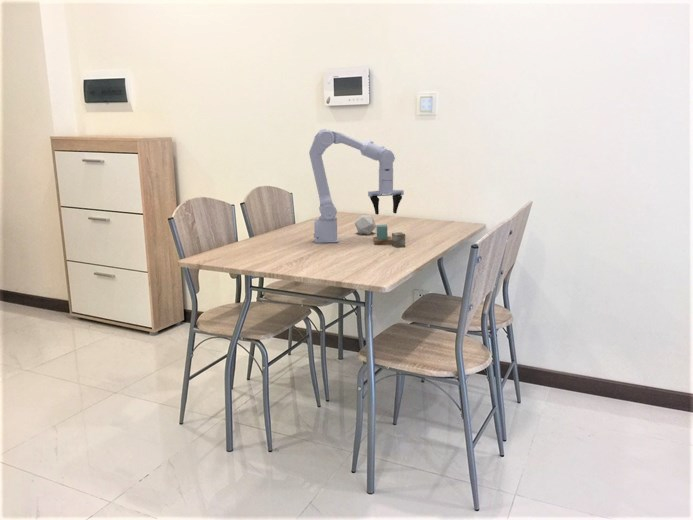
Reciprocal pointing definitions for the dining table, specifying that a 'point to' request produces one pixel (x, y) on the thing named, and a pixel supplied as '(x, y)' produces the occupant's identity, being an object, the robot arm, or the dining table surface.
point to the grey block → (398, 239)
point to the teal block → (381, 231)
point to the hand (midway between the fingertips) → (385, 213)
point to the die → (365, 224)
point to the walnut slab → (382, 241)
